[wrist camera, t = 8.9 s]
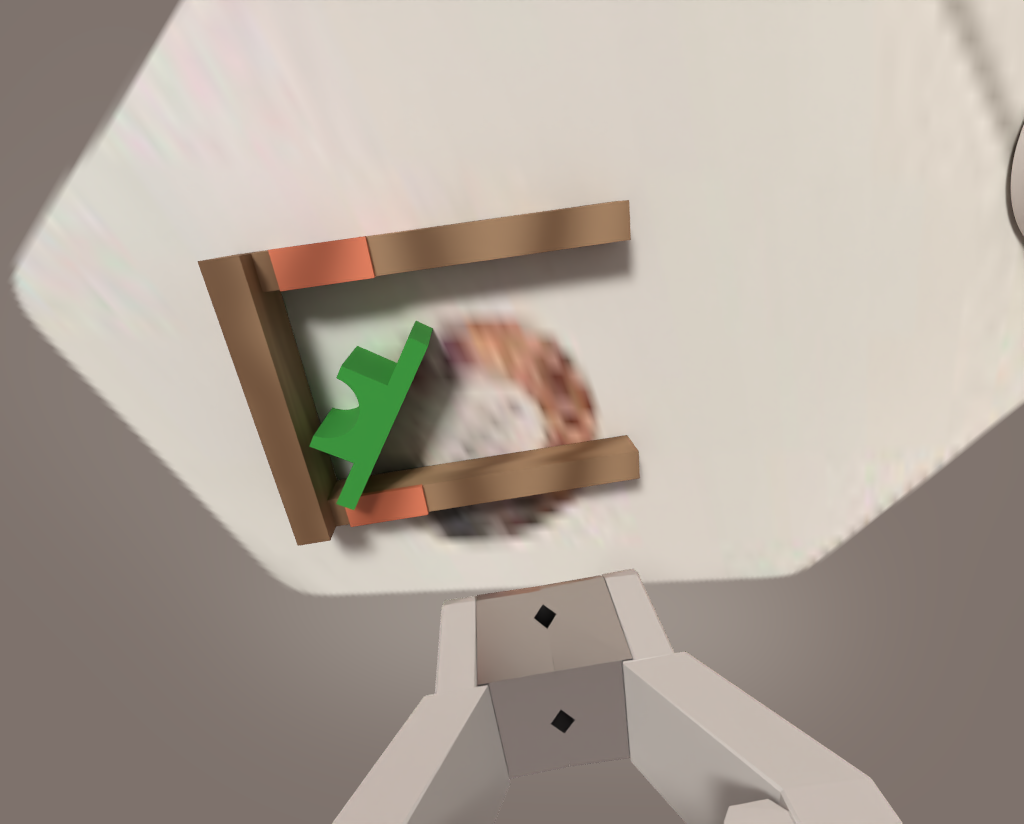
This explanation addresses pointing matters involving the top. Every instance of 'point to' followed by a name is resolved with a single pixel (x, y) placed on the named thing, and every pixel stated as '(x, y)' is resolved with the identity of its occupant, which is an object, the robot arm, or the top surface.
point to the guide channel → (287, 397)
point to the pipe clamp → (369, 409)
